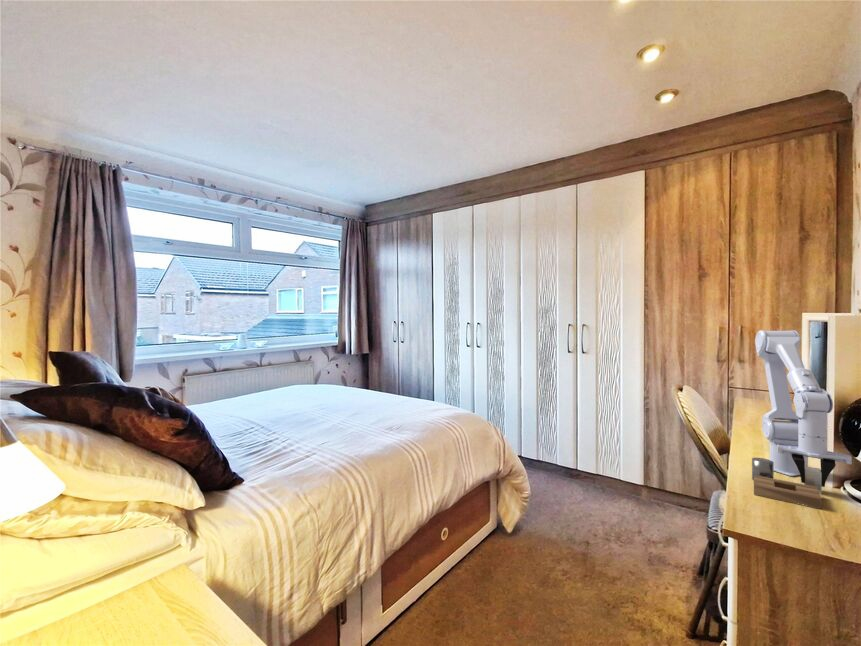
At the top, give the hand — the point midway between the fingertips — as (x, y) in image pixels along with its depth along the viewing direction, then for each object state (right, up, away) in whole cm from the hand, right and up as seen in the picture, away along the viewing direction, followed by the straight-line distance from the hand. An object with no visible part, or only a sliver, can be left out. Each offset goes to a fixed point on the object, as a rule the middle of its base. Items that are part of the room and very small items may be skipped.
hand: (812, 483), depth 107 cm
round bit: (-8, -2, +7) cm, 11 cm away
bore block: (-10, -2, -3) cm, 11 cm away
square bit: (0, -2, 0) cm, 2 cm away
